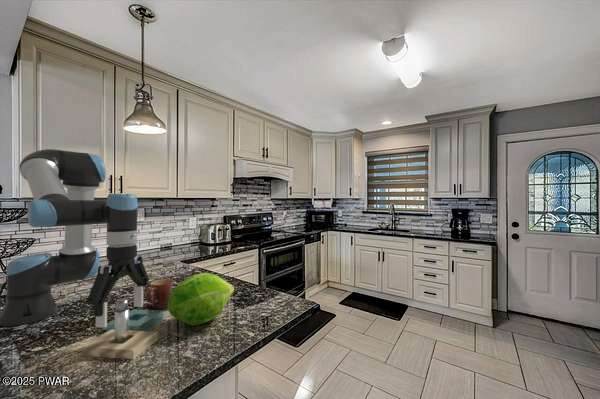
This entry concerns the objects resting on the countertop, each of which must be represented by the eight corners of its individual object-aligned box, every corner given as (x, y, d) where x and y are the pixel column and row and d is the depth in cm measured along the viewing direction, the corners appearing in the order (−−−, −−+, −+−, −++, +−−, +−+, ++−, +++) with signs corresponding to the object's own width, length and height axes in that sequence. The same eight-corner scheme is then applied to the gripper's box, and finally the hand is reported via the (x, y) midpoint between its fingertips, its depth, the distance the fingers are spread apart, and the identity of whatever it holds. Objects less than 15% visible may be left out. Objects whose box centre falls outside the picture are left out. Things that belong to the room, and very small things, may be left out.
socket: (106, 333, 84) (106, 324, 84) (133, 317, 96) (133, 309, 96) (139, 335, 83) (139, 326, 83) (163, 318, 95) (163, 310, 95)
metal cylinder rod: (111, 350, 74) (111, 302, 75) (121, 343, 78) (121, 297, 78) (122, 351, 74) (122, 302, 74) (132, 344, 78) (132, 298, 78)
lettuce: (247, 316, 96) (247, 271, 96) (179, 344, 77) (179, 288, 78) (220, 303, 109) (220, 263, 109) (157, 325, 90) (157, 276, 90)
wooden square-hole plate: (81, 355, 72) (81, 346, 72) (111, 337, 82) (111, 329, 82) (133, 359, 70) (133, 350, 70) (157, 339, 80) (157, 331, 80)
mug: (160, 301, 111) (160, 278, 112) (178, 303, 110) (178, 279, 110) (138, 313, 100) (138, 287, 100) (157, 315, 98) (157, 288, 98)
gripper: (95, 253, 64) (94, 338, 63) (161, 239, 88) (160, 300, 88) (68, 252, 64) (67, 336, 64) (141, 238, 89) (140, 299, 89)
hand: (121, 315), depth 76 cm, fingers open, 13 cm apart
